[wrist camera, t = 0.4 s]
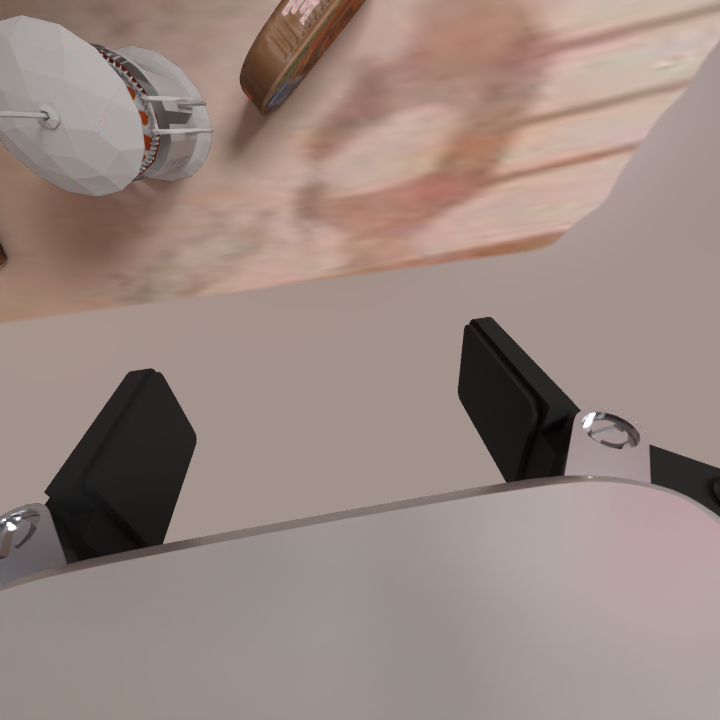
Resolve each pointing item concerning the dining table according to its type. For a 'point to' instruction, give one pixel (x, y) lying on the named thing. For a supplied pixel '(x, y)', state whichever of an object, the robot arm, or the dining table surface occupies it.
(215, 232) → the dining table surface
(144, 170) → the french press
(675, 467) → the robot arm
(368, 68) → the dining table surface
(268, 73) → the tin
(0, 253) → the croissant
